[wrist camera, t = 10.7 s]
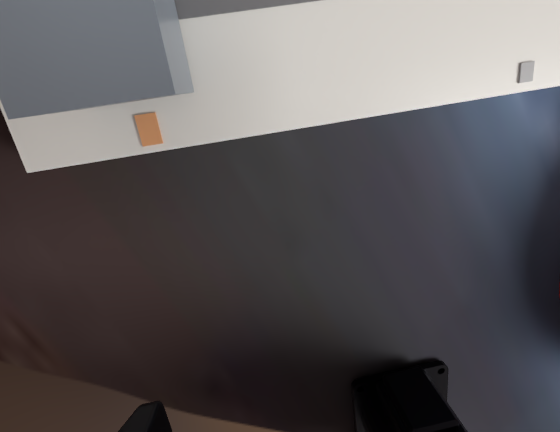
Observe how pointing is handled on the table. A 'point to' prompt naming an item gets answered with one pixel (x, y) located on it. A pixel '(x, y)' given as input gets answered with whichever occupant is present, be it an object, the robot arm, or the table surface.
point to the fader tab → (88, 54)
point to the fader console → (310, 72)
